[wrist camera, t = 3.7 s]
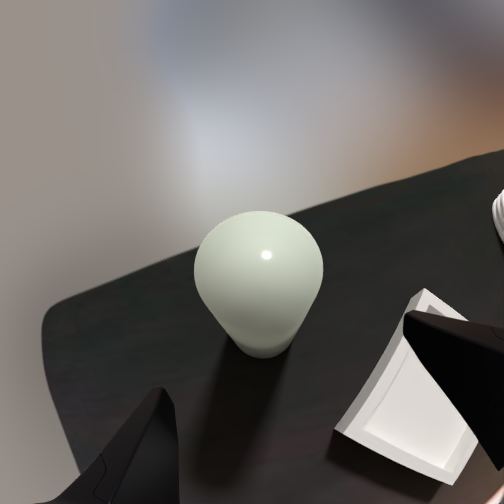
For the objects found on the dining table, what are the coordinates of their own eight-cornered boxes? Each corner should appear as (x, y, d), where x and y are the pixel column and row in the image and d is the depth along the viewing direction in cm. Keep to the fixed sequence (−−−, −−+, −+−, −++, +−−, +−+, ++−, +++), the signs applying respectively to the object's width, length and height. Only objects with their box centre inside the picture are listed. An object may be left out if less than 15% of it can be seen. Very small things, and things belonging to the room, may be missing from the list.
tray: (437, 479, 13) (452, 485, 11) (334, 428, 17) (342, 433, 15) (494, 361, 17) (510, 356, 15) (410, 298, 22) (424, 288, 19)
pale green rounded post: (269, 370, 20) (272, 356, 9) (219, 333, 21) (169, 276, 11) (307, 320, 21) (345, 251, 11) (257, 286, 23) (246, 193, 12)
